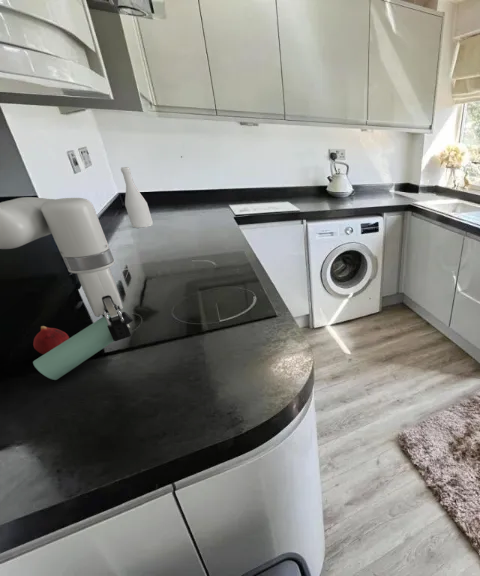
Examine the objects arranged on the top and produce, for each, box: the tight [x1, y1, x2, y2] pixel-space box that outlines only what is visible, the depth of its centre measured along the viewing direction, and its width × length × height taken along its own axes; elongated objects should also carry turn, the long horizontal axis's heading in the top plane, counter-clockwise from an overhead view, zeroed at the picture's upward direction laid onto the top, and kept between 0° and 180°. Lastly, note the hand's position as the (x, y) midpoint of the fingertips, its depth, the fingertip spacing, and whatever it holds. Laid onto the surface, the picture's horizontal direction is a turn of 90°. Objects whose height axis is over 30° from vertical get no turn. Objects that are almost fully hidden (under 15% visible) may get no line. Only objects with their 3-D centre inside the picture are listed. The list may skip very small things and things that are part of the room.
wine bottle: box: [120, 166, 154, 229], centre depth 169 cm, size 10×10×30 cm
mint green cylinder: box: [32, 311, 134, 381], centre depth 71 cm, size 17×6×6 cm, turn 136°
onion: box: [32, 325, 70, 355], centre depth 74 cm, size 6×6×8 cm
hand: (119, 332), depth 75 cm, fingers closed on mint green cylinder, 5 cm apart
